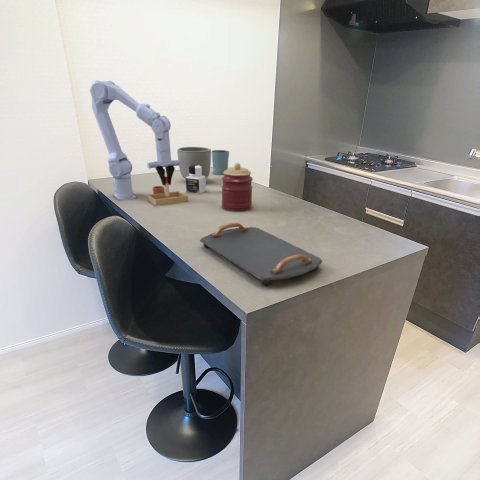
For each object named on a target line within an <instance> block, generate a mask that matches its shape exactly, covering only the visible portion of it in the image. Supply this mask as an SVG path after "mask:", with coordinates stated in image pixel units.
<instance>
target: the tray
mask: <svg viewBox="0 0 480 480" xmlns="http://www.w3.org/2000/svg"><path fill="white" fill-rule="evenodd" d="M169 195H170V196H166V194H165V193H160V194H153V193H151V194H147V201H149V202H150V203H152V204H153V205H155V206H162V205H167V204H175V203H181V202H183V203H184V202H188V201H189V199H188V198H189V197H188V195H187V194H184V193H183V192H181V191H179V190H178V191H177V190H176V191H169Z"/></svg>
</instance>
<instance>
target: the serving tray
mask: <svg viewBox="0 0 480 480" xmlns="http://www.w3.org/2000/svg"><path fill="white" fill-rule="evenodd" d="M199 242H200V243H201V244H203V247H204V248H205V249H208V248H209V249H211V250H212V251H214V252H216V253H217V254H219V255H220V256H222V257H224V258H225V259H226V260H228V261H230V262H232V264H234V265H236V266H238V267H239V268H241V269H242V270H244V271H245V272H247V273H249V274H250V275H252V276H253V277H255V278H257V279H258V280H259V281H261V284H262V286H263V287H268V286H269V285H270V283H271V281H277V280H283V279H284V280H285V279H288V278H294V277H297V276H301V275H305V274H307V273H309V272H311V271H317V269H319V266H320V265H321V264H322V263H323V259H322V258H321V257H319V256H317V255H315V254H313V253H310V252H308V251H306V250H305V249H302V248H301V247H299V246H296V245H293V244H292V243H290V242H288V241H286V240H284V239H282V238H279V237H278V236H276V235H274V234H271V233H269V232H267V231H265V230H263V229H260V228H259V227H254V226H249V227H247V226H243V225H242V224H241V223H239V222H229V223H224V224H223V225H220V226H219V227H218V228H216V230H215V231H214V232H212V233H210V234H208V235H205V236H203V237H201V238H200V239H199Z"/></svg>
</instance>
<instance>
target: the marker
mask: <svg viewBox="0 0 480 480" xmlns="http://www.w3.org/2000/svg"><path fill="white" fill-rule="evenodd" d="M165 183H166V185H164V187H165V194H166V196H170V195H169V192H170V185H169V184H168V183H169V181H168V177H167V175H165Z"/></svg>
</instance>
